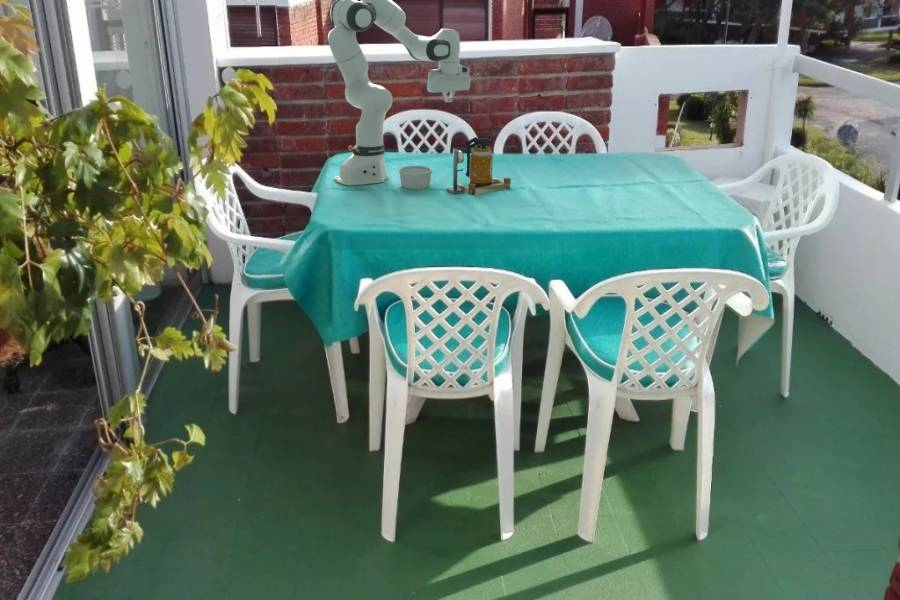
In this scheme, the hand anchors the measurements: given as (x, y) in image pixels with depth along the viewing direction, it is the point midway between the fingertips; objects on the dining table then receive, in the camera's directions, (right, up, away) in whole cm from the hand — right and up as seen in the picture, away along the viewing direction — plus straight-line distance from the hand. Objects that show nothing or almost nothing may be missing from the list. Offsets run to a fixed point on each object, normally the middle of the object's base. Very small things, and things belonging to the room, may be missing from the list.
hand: (448, 101), depth 360 cm
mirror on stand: (+3, -42, -25) cm, 49 cm away
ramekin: (-13, -39, -18) cm, 45 cm away
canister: (+12, -39, -17) cm, 44 cm away
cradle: (+13, -39, -19) cm, 46 cm away
